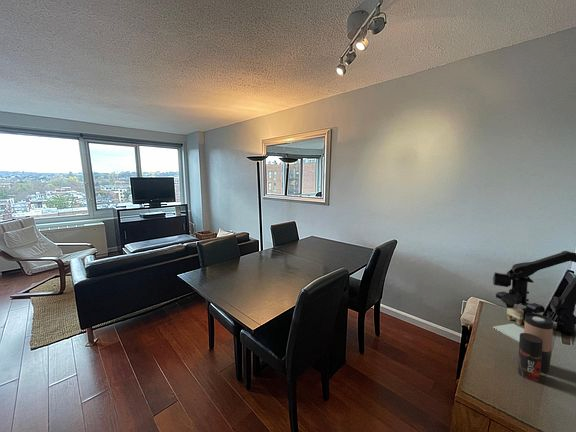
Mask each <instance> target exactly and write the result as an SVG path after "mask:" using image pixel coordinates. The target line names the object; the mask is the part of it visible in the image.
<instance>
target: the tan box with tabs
mask: <svg viewBox="0 0 576 432" xmlns="http://www.w3.org/2000/svg"><path fill="white" fill-rule="evenodd" d="M523 315H524V311H523V308H520V307H517V306H514V307H512V308H507V307H506V320H508V321H512V320H513V319H515V322H516V323H515V325H517V326H521V325H522V322H523V323H524V324H525V321H524V320H523Z"/></svg>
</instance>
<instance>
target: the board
mask: <svg viewBox="0 0 576 432" xmlns="http://www.w3.org/2000/svg"><path fill="white" fill-rule="evenodd" d="M494 328H495V329H494ZM492 329H494V330H496V329H497V330H496V331H498V332H499V331H500V333H502V335H503V334H504V335H506V337H508V338H511V339H513V340H515V341H516V342H518V343H519V339H520V333H524V328H523V327H521V326H520V325H518V324H516V323H507V324H502V325H501V324H500V325H495V326H492Z"/></svg>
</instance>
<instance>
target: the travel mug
mask: <svg viewBox="0 0 576 432" xmlns="http://www.w3.org/2000/svg"><path fill="white" fill-rule="evenodd" d="M523 325H524V328H523V329H524V333H529V334H532V335H535V336H537V337H539V338H541V339H542V340H543V345H542V359H541V372H540V373H548V372H549V370H550V366H551V365H550V364H551V356H552V350H553V348H552V347H553V334H554V329H553V327H554V320H553V319H552V318H550V317H548V316H546V315H543V314H541V313H527V314H525V323H524V324H523Z"/></svg>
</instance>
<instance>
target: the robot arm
mask: <svg viewBox="0 0 576 432" xmlns="http://www.w3.org/2000/svg"><path fill="white" fill-rule="evenodd" d="M567 262H572V263H576V252H572V251H569V250H563V251H561V252H558V253H555V254H552V255H550V256H547V257H543V258H540V259H536V260H534V261H529V262H519V263H516V264H515V263H514V264H513V265H512V267H511V269H510V270H508V271H507V272H506V273H500V272H496V271H495V272H494V273H493V277H492V284H493V286H497V287H505V288H509V287H510V286H511V288H510V289H509V290H508V291H507V292H506V291H498V292H496V293H495V298H497V299H499V300H500V301H501V302H503V303H504V304H505V306H506V309H507V308H512V307H515V305H517V306H518V305H522V306H524V307H522V310H523V311H524V315H523V319H522V321H523V320H524V321H525V314H527V313H535V314H541V313H546V308H545V307H544V306H543V305H541V304H538V303H536V302H532V303H530V302H529V300H530V299H529V298H528V294H530V291H529V290H528V283H534V280H533V279H532V278H531V277H530V276H532V275H534V274H535V273H537V272H538V271H540V270H544V269H547V268H551V267H555V266H557V265H560V264H564V263H567ZM549 303H550V305H549V306H550V307H549V308H550V309H551V310H552V311H553V312H554V313H555V315H557V318H556V326H553V330H556V331H557V332H560V333H563V334H565V335H567V336H574V335H576V314H574V313H575V310H576V276H575V277H574V278H573V279H572V281H571V283H570V284H569V285H568V287H567V288H566V289H565V291H564V292H563V293H562V294H561V296H558V297H557V296H556V295H554V296H553V297H552V300H551V301H549Z"/></svg>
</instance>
